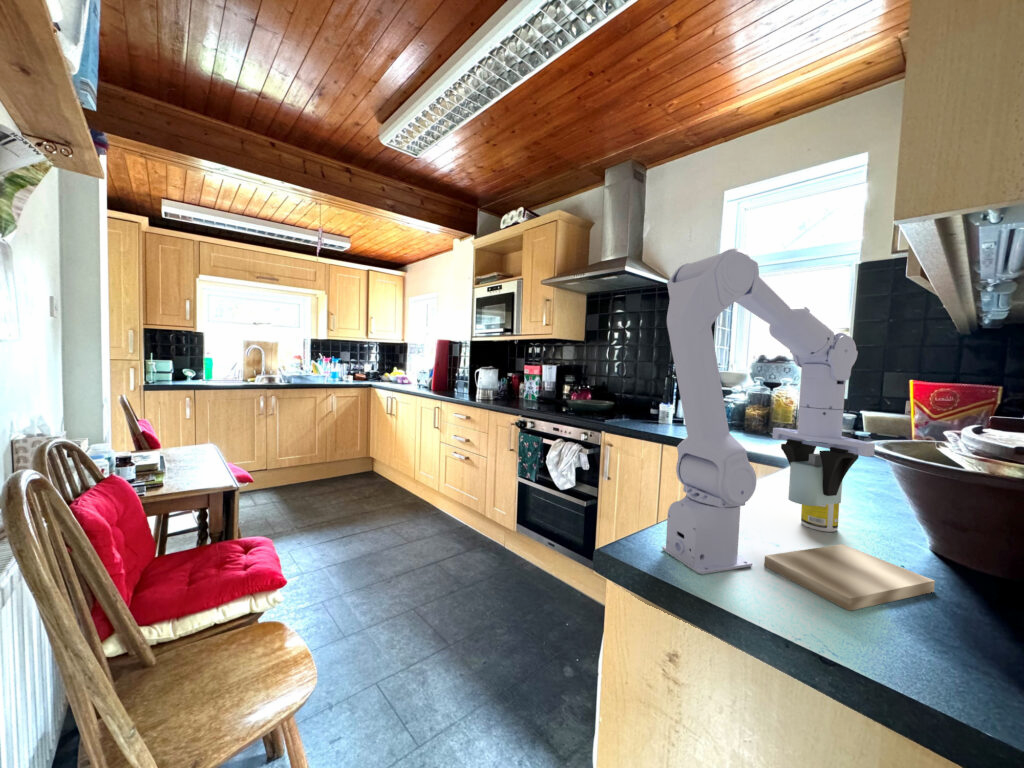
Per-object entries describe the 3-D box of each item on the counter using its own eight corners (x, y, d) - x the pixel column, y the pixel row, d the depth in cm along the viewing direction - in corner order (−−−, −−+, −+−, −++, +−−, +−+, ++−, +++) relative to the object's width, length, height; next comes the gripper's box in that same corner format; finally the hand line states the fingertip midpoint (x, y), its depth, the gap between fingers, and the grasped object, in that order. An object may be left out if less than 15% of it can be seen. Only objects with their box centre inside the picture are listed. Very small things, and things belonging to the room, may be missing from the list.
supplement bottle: (824, 522, 76) (827, 471, 75) (845, 533, 70) (849, 479, 70) (794, 520, 76) (797, 469, 76) (812, 531, 71) (816, 477, 70)
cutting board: (848, 610, 47) (849, 598, 47) (764, 565, 57) (764, 555, 57) (933, 591, 52) (934, 580, 52) (841, 553, 62) (842, 544, 62)
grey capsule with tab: (806, 506, 62) (810, 458, 62) (782, 498, 66) (785, 452, 65) (847, 502, 65) (850, 456, 64) (821, 494, 69) (824, 451, 68)
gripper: (891, 413, 59) (884, 503, 60) (794, 403, 73) (790, 477, 73) (858, 413, 57) (851, 507, 57) (765, 403, 71) (761, 479, 71)
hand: (815, 490), depth 65 cm, fingers closed on grey capsule with tab, 4 cm apart
